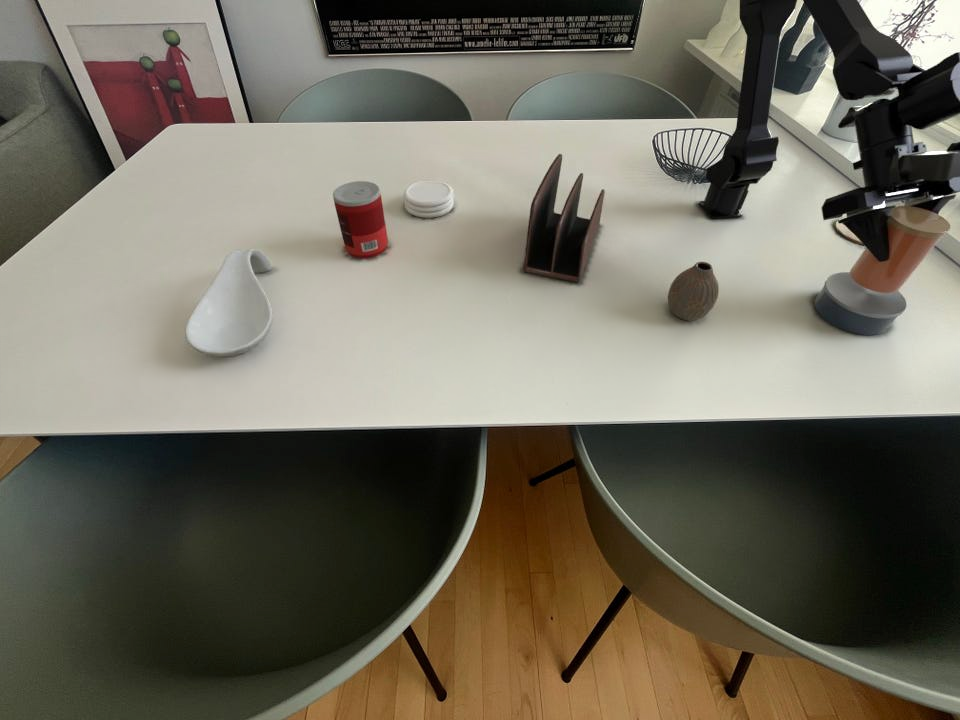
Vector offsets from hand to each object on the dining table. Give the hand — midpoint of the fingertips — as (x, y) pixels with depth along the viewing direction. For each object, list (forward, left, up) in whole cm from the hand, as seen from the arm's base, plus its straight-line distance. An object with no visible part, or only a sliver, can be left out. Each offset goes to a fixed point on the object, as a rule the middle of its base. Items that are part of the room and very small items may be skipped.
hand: (903, 257), depth 67 cm
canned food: (-77, +28, -11) cm, 83 cm away
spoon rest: (-95, +11, -11) cm, 97 cm away
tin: (0, +1, -11) cm, 11 cm away
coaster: (-65, +42, -11) cm, 79 cm away
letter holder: (-41, +24, -11) cm, 49 cm away
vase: (-26, +4, -11) cm, 29 cm away
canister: (0, +1, -5) cm, 5 cm away
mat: (+18, +23, -11) cm, 31 cm away
